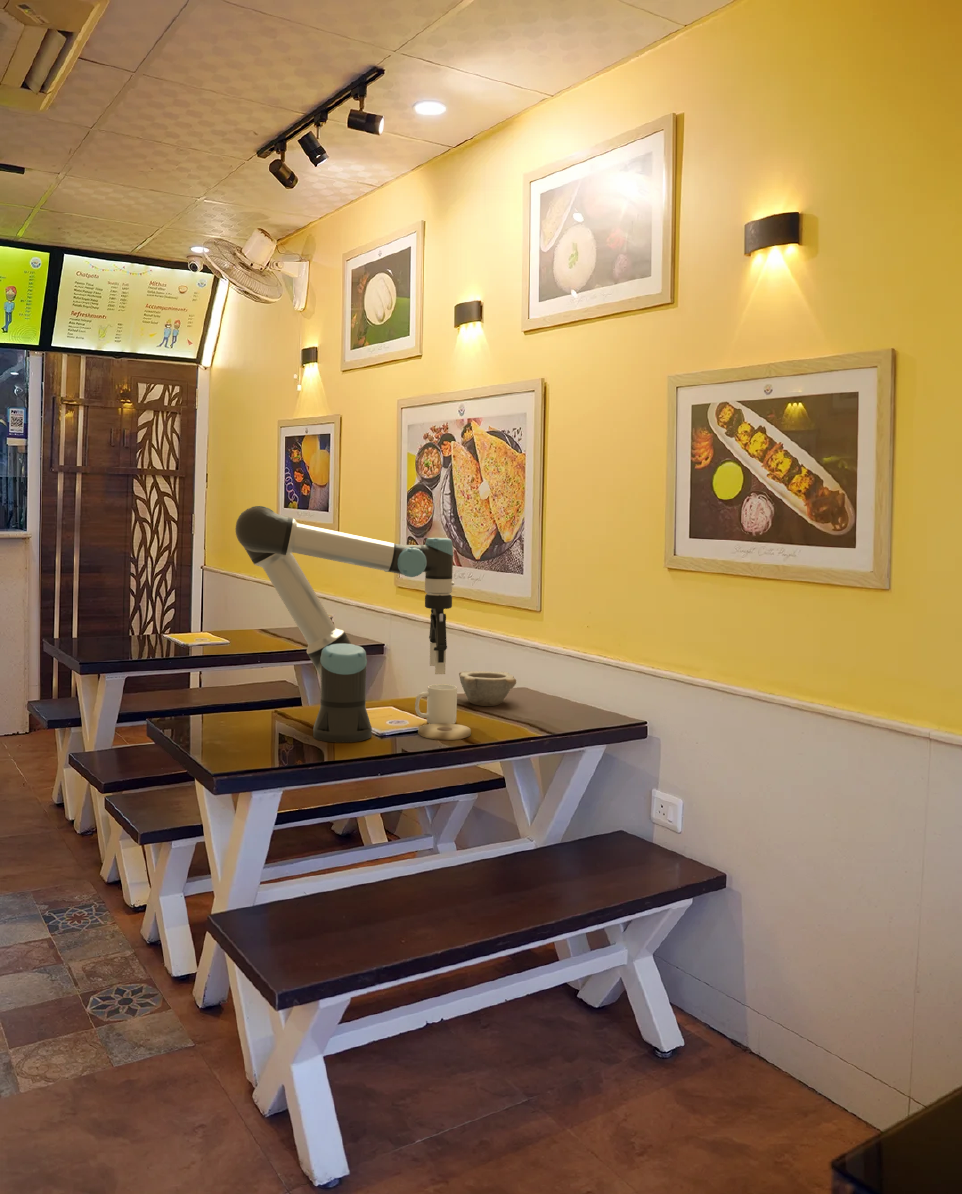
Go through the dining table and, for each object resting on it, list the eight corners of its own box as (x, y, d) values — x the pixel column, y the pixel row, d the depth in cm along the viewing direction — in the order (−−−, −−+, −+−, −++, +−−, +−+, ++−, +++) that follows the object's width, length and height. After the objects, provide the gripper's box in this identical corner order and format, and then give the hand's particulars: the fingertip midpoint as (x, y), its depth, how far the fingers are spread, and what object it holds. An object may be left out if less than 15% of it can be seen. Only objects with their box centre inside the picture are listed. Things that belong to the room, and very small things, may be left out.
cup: (460, 724, 278) (461, 688, 277) (419, 727, 274) (420, 690, 273) (450, 718, 286) (450, 683, 285) (410, 721, 281) (410, 685, 280)
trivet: (420, 740, 259) (421, 735, 259) (415, 727, 273) (415, 723, 273) (474, 739, 261) (474, 734, 261) (466, 727, 275) (466, 722, 275)
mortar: (509, 698, 318) (510, 669, 317) (516, 709, 302) (517, 679, 301) (456, 697, 317) (457, 669, 316) (461, 708, 300) (462, 678, 299)
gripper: (458, 598, 265) (456, 677, 267) (446, 589, 289) (445, 662, 291) (430, 598, 263) (428, 677, 265) (420, 589, 288) (419, 662, 290)
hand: (437, 670), depth 278 cm, fingers open, 13 cm apart
